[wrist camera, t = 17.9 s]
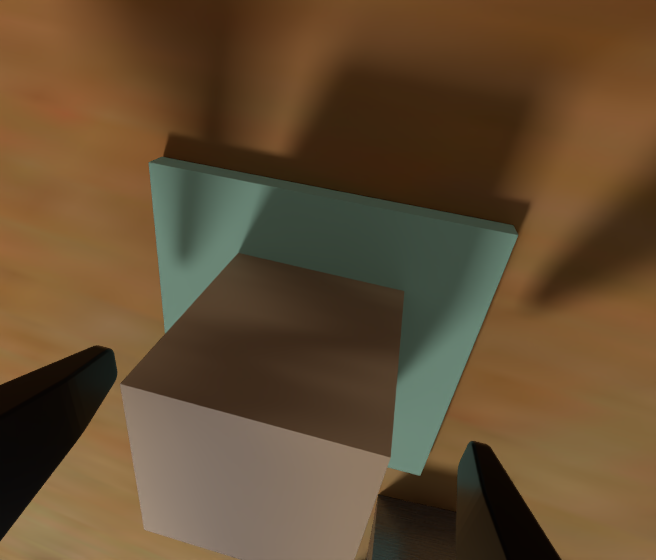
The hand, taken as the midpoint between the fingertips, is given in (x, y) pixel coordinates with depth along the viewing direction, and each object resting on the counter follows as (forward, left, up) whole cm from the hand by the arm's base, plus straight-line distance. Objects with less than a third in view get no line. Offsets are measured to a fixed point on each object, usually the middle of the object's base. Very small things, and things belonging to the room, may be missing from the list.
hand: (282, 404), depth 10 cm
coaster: (0, 0, -3) cm, 3 cm away
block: (0, 0, -2) cm, 2 cm away
